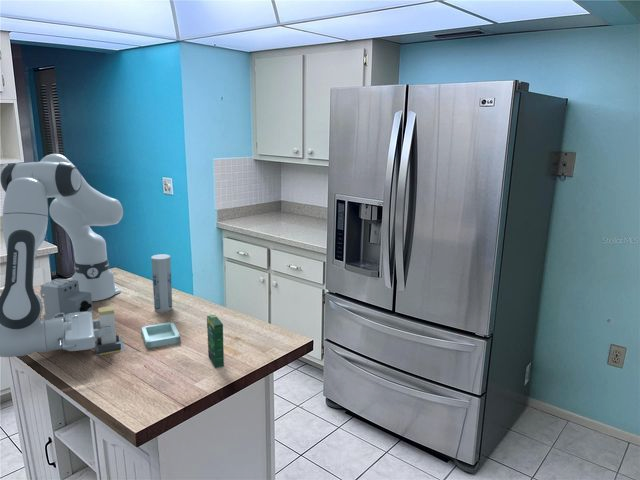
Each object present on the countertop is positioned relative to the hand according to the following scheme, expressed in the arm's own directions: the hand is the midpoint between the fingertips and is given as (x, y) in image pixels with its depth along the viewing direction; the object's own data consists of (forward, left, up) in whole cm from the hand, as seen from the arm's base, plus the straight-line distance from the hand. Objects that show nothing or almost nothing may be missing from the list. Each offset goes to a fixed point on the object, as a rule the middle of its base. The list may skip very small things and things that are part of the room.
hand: (110, 325), depth 141 cm
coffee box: (+21, +26, -7) cm, 34 cm away
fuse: (0, -1, -6) cm, 6 cm away
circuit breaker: (-21, -11, -7) cm, 25 cm away
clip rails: (0, -1, -7) cm, 7 cm away
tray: (0, +14, -7) cm, 16 cm away
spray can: (-25, +19, -7) cm, 32 cm away
